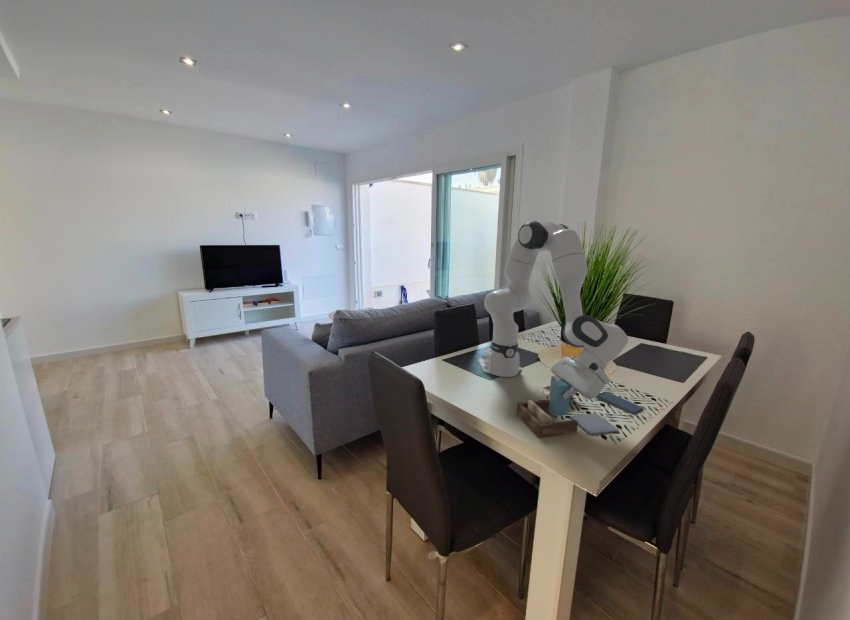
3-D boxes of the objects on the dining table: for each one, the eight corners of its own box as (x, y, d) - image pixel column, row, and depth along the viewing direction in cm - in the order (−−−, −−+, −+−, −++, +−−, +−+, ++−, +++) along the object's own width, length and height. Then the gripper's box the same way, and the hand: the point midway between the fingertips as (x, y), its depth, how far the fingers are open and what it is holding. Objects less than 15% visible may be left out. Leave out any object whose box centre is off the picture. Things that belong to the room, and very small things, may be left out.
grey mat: (568, 417, 123) (569, 415, 123) (595, 414, 125) (596, 413, 125) (589, 435, 113) (590, 433, 112) (618, 431, 115) (618, 429, 115)
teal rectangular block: (548, 410, 121) (552, 381, 118) (561, 409, 122) (565, 380, 119) (554, 416, 118) (558, 386, 115) (567, 414, 119) (571, 385, 116)
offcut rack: (516, 413, 125) (517, 402, 124) (550, 409, 128) (551, 399, 127) (538, 437, 110) (540, 426, 110) (576, 432, 114) (578, 421, 113)
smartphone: (633, 413, 126) (595, 394, 138) (632, 417, 126) (594, 398, 138) (644, 407, 130) (606, 390, 142) (643, 411, 130) (605, 394, 142)
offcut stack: (526, 417, 123) (528, 400, 121) (535, 416, 123) (537, 399, 122) (540, 431, 114) (542, 413, 113) (550, 430, 115) (552, 412, 113)
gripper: (564, 348, 127) (537, 375, 127) (604, 371, 107) (572, 402, 107) (573, 359, 129) (546, 385, 129) (614, 383, 109) (582, 414, 109)
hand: (558, 393), depth 118 cm, fingers closed on teal rectangular block, 3 cm apart
